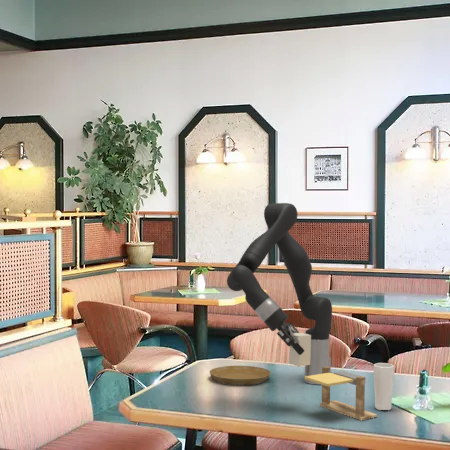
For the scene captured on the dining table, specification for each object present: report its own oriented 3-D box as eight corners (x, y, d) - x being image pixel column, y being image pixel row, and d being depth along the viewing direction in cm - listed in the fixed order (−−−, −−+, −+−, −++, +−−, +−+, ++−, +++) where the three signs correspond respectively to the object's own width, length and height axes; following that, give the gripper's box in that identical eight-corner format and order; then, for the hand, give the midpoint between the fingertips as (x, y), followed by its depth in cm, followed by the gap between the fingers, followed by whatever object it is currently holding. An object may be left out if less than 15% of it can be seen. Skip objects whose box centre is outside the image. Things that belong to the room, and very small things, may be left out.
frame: (335, 403, 250) (335, 364, 250) (377, 417, 233) (377, 376, 233) (319, 405, 246) (320, 366, 246) (361, 421, 230) (362, 378, 229)
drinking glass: (389, 413, 239) (390, 368, 238) (370, 409, 242) (370, 365, 242) (396, 408, 244) (397, 364, 244) (377, 405, 248) (377, 362, 248)
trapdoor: (342, 376, 246) (342, 370, 246) (366, 383, 236) (366, 377, 236) (304, 382, 236) (304, 376, 236) (327, 390, 227) (327, 383, 227)
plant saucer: (211, 372, 295) (211, 364, 295) (270, 373, 294) (270, 365, 294) (207, 387, 271) (207, 378, 271) (271, 388, 270) (271, 379, 270)
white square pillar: (300, 361, 244) (301, 332, 244) (310, 364, 240) (311, 335, 240) (289, 363, 242) (289, 333, 241) (298, 366, 237) (299, 336, 237)
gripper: (274, 309, 236) (308, 347, 233) (283, 303, 249) (316, 339, 246) (258, 324, 237) (292, 362, 234) (268, 318, 251) (300, 353, 248)
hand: (304, 350), depth 240 cm, fingers closed on white square pillar, 7 cm apart
